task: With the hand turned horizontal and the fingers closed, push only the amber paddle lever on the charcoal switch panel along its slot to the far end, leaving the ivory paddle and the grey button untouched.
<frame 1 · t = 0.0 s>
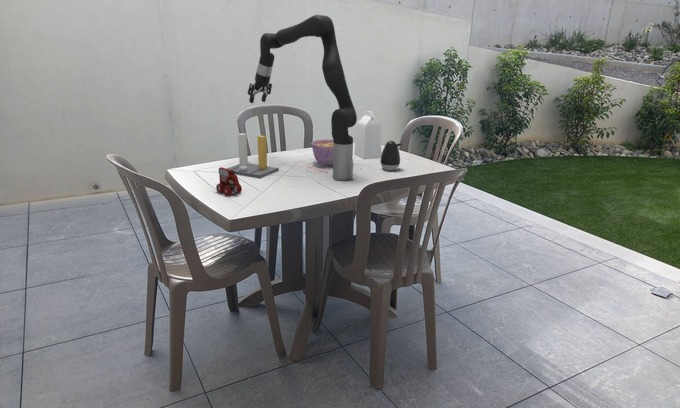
hand: (257, 102, 231), 31 cm above the table, tool tilted 20°, fingers open, 8 cm apart
milk: (367, 156, 255), on the table
lever ivory: (242, 149, 221), point 10 cm above the table, slide at 0.0 cm
panel: (251, 171, 219), on the table
toy fire truck: (229, 193, 187), on the table
button grey: (243, 168, 214), point 2 cm above the table, slide at 0.2 cm, touching panel
bowl of food: (329, 164, 236), on the table
lever amber: (262, 152, 216), point 10 cm above the table, slide at 0.0 cm
pump dispenser: (389, 169, 227), on the table
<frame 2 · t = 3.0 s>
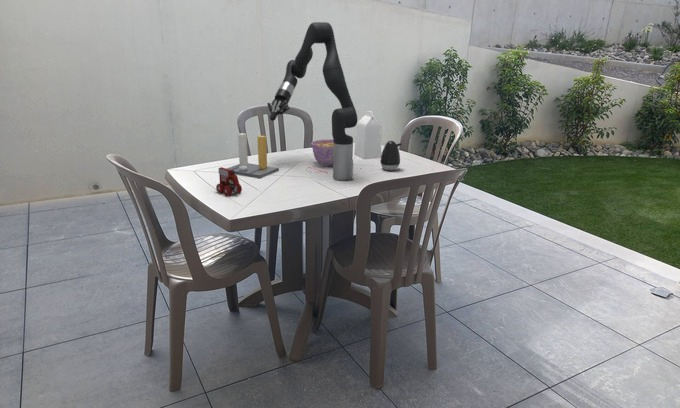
hand: (271, 119, 217), 25 cm above the table, tool tilted 45°, fingers closed
nothing on the table moved.
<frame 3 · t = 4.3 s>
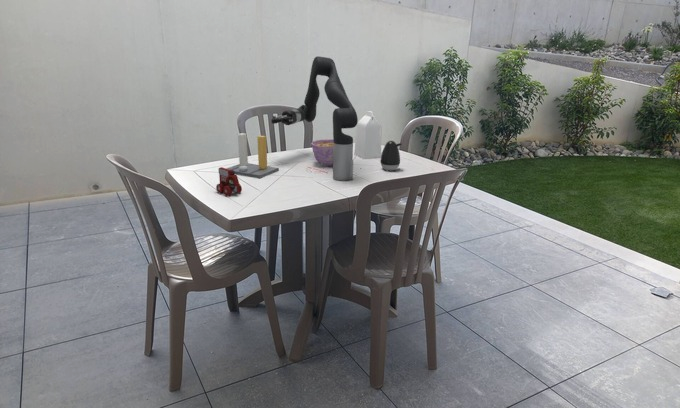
hand: (272, 121, 220), 24 cm above the table, tool horizontal, fingers closed
nothing on the table moved.
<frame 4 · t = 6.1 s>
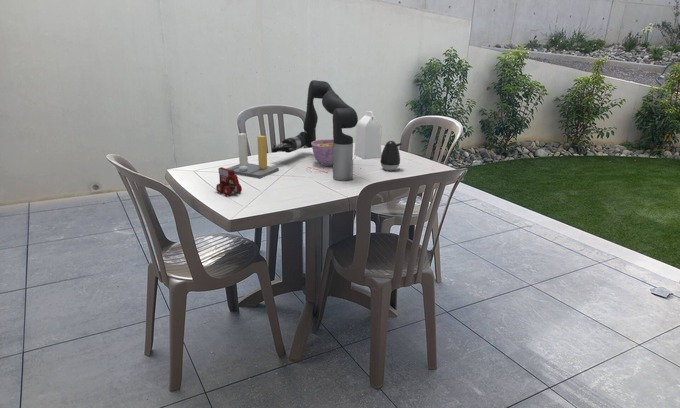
hand: (273, 150, 224), 9 cm above the table, tool horizontal, fingers closed
nothing on the table moved.
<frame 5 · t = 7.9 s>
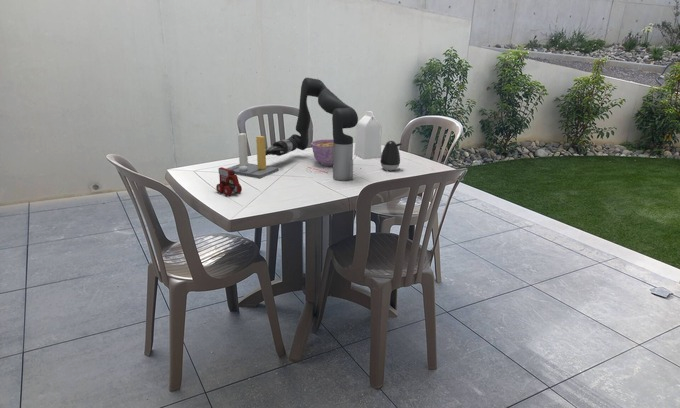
hand: (263, 153, 217), 9 cm above the table, tool horizontal, fingers closed
lever amber: (261, 152, 215), point 10 cm above the table, slide at 0.9 cm, touching gripper
everything else where it was.
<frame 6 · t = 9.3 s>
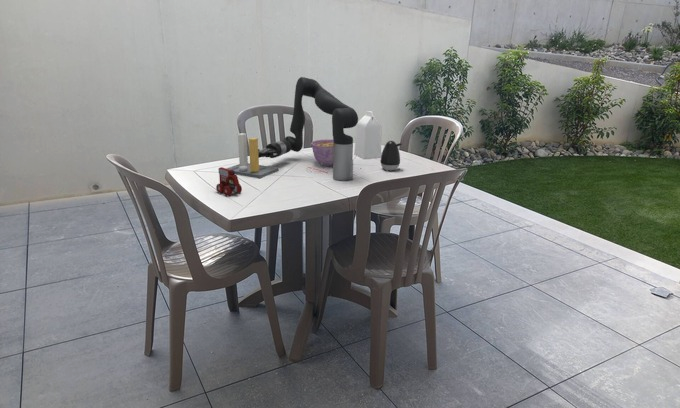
hand: (255, 156, 212), 9 cm above the table, tool horizontal, fingers closed
lever amber: (254, 155, 210), point 10 cm above the table, slide at 6.8 cm, touching gripper
everything else where it was.
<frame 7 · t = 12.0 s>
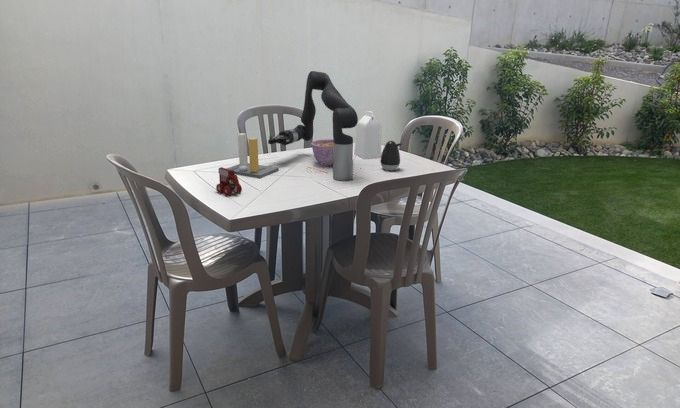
hand: (269, 142, 220), 14 cm above the table, tool horizontal, fingers closed
lever amber: (253, 155, 210), point 10 cm above the table, slide at 7.1 cm
everything else where it was.
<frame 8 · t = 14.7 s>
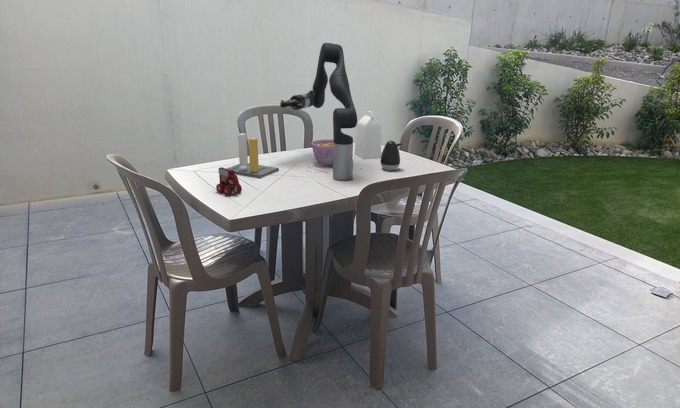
hand: (281, 105, 216), 32 cm above the table, tool horizontal, fingers closed
nothing on the table moved.
at the end: lever amber slide at 7.1 cm; lever ivory slide at 0.0 cm; button grey slide at 0.2 cm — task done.
